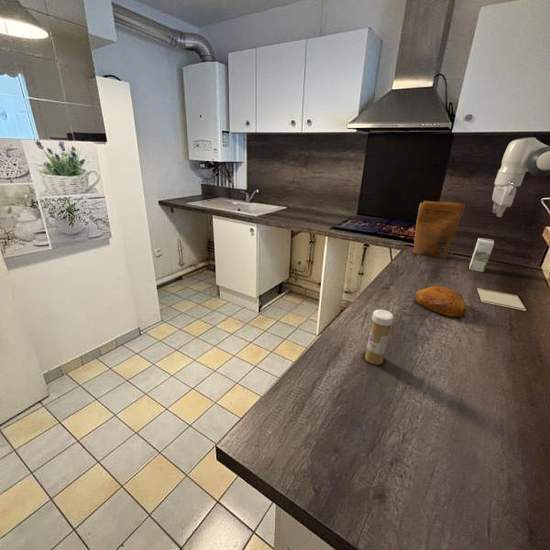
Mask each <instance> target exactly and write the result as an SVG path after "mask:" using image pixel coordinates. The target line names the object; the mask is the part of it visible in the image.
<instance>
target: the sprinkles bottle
mask: <svg viewBox="0 0 550 550" xmlns="http://www.w3.org/2000/svg"><path fill="white" fill-rule="evenodd" d="M371 319H372V322H371V327H370V331H369V334H368V335H369V336H368V340H367V345H366V351H365V354H364V359H365V360H366V361H367V362H368V363H369V364H372V365H377V366H378V365H381V364H383V363H384V357H385V353H386V350H387V344H388V341H389V337H390V331H391V327H392V325H393V322H394V315H393V314H392V312H390V311H388V310H385V309H375V310H374V311H373V313H372V317H371Z"/></svg>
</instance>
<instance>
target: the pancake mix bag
mask: <svg viewBox="0 0 550 550" xmlns="http://www.w3.org/2000/svg"><path fill="white" fill-rule="evenodd" d="M465 207H466V204H464V203H461V202H451V201H434V200H433V201H432V200H423V201H422V202H420V203H419V206H418V211H417V216H416V224H415V233H414V243H413V249H412V251H411V252H412V253H414V254H416V255H418V256H423V257H428V258H429V257H430V258H435V259H439V260H441V259H443V260H445V259H447V258H448V250H449V247H450V244H452V239H453V236H454V234H455V232H456V230H457V228H458V226H459V223H460V220H461V217H462V216H463V213H464V210H465Z"/></svg>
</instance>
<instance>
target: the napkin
mask: <svg viewBox="0 0 550 550" xmlns="http://www.w3.org/2000/svg"><path fill="white" fill-rule="evenodd" d="M476 290H477V293H478V296H479V299H480V301H481V303H485V304H490V305H494V306H500V307H504V308H510V309H514V310H519V311H523V312H527V309H526V307H525V305H524V304H523V302H522V301H521V299H520V297H519V296H518V295H517V294H513V293H512V294H511V293H505V292H501V291H495V290H490V289H486V288H479V287H477V288H476Z"/></svg>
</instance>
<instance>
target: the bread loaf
mask: <svg viewBox="0 0 550 550" xmlns="http://www.w3.org/2000/svg"><path fill="white" fill-rule="evenodd" d="M462 297H463V296H462V294H460V293H459V292H457V291H456V290H453V289H450V288H447V287H445V286H444V287H443V286H439V285H431V286H429V287H427V288H423V289H420V290H418V291H416V292H415V300H416V302H417V304H419V305H420V306H422V307H424V308H425V309H428V310H431V311H433V312H436V313H438V314H441V315H444V316H447V317H457V318H460V317H462V316H463V315H464V314H465V312H466V311H467V306H466V302H465V301H464V298H462Z"/></svg>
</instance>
